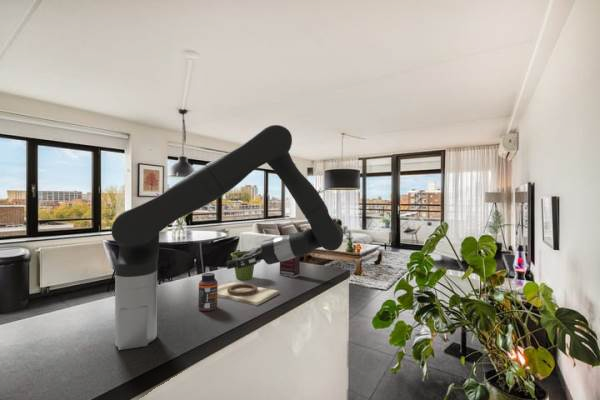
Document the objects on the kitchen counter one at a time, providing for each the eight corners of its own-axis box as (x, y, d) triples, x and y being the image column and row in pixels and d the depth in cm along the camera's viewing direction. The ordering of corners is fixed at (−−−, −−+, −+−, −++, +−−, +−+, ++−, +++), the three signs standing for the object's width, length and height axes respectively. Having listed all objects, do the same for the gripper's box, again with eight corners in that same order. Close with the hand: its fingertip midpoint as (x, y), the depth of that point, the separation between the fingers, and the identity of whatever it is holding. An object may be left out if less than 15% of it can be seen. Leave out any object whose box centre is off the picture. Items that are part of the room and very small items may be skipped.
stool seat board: (279, 293, 110) (279, 287, 110) (257, 305, 97) (257, 298, 97) (230, 284, 121) (230, 278, 121) (205, 293, 109) (205, 287, 109)
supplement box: (300, 275, 135) (300, 241, 135) (294, 278, 131) (294, 243, 131) (284, 273, 140) (285, 240, 140) (279, 275, 136) (279, 241, 136)
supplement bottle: (211, 312, 91) (211, 277, 91) (194, 311, 92) (194, 275, 92) (220, 305, 97) (220, 272, 97) (204, 304, 98) (204, 271, 98)
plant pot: (239, 273, 138) (239, 250, 138) (261, 276, 134) (261, 251, 134) (225, 280, 127) (225, 254, 126) (249, 283, 123) (249, 256, 123)
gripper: (282, 233, 95) (238, 245, 99) (269, 242, 81) (218, 256, 85) (288, 254, 95) (244, 265, 99) (276, 268, 82) (226, 280, 85)
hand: (232, 261), depth 92 cm, fingers open, 8 cm apart
